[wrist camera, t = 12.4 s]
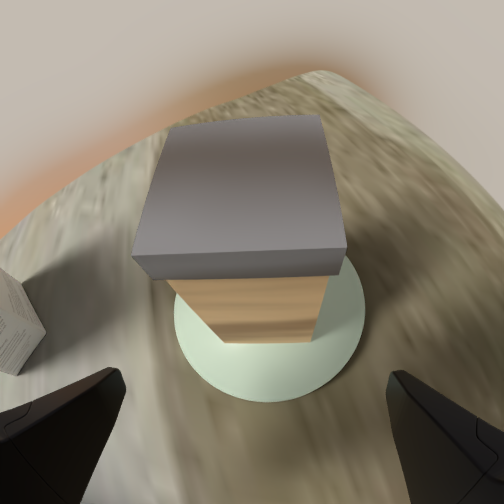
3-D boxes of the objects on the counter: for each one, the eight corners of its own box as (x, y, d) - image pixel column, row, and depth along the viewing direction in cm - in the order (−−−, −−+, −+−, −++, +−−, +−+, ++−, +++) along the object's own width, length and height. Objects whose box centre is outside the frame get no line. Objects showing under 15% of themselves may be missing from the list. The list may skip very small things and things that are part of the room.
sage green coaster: (229, 433, 15) (223, 436, 14) (159, 280, 21) (151, 271, 20) (393, 337, 17) (401, 331, 16) (298, 209, 23) (298, 197, 21)
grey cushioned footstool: (313, 345, 16) (347, 247, 7) (221, 346, 17) (131, 255, 7) (309, 262, 19) (319, 114, 9) (226, 265, 19) (170, 128, 10)
